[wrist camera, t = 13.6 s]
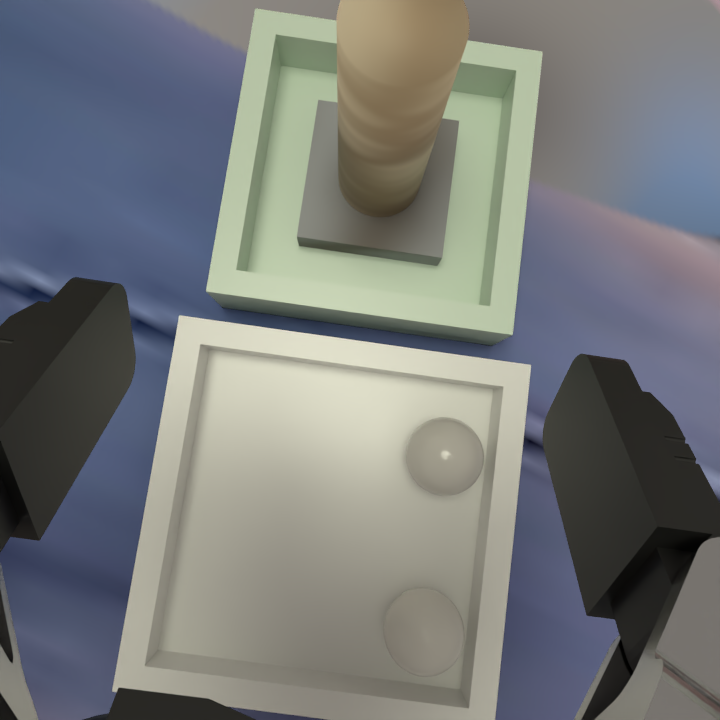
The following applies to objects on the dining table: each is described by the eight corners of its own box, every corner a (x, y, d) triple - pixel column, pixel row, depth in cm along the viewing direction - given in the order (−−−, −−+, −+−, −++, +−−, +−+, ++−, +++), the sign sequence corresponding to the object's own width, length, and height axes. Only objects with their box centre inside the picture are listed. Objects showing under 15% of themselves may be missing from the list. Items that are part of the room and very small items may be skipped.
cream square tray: (137, 662, 23) (112, 691, 20) (195, 326, 24) (179, 315, 22) (476, 707, 23) (492, 740, 21) (511, 371, 25) (531, 365, 22)
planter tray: (222, 307, 25) (205, 291, 22) (265, 56, 26) (255, 8, 23) (492, 345, 25) (512, 334, 22) (519, 94, 26) (542, 51, 23)
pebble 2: (376, 651, 22) (381, 686, 19) (386, 573, 23) (392, 596, 20) (450, 661, 22) (467, 697, 19) (459, 583, 23) (477, 607, 20)
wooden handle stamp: (298, 246, 24) (268, 115, 14) (319, 115, 25) (303, -99, 15) (437, 265, 24) (506, 150, 14) (453, 135, 25) (530, -65, 15)
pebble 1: (397, 485, 23) (405, 494, 20) (406, 413, 23) (415, 411, 20) (469, 495, 23) (488, 506, 20) (477, 422, 23) (497, 422, 20)
